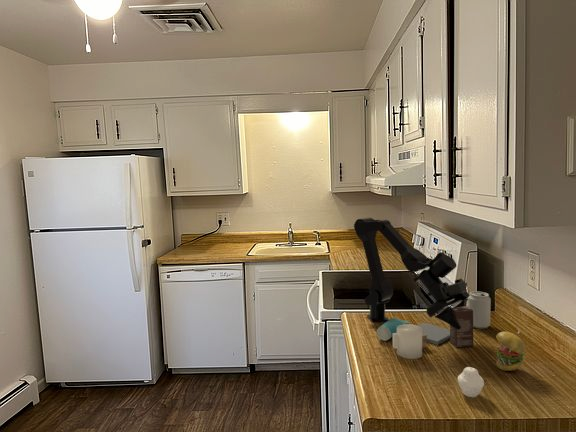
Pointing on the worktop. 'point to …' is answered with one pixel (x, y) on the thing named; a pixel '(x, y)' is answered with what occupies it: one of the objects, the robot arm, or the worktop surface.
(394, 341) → the white tapered cup
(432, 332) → the coaster
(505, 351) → the hamburger
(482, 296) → the can
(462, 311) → the box
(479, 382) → the muffin
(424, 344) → the walnut block
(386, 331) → the tube
